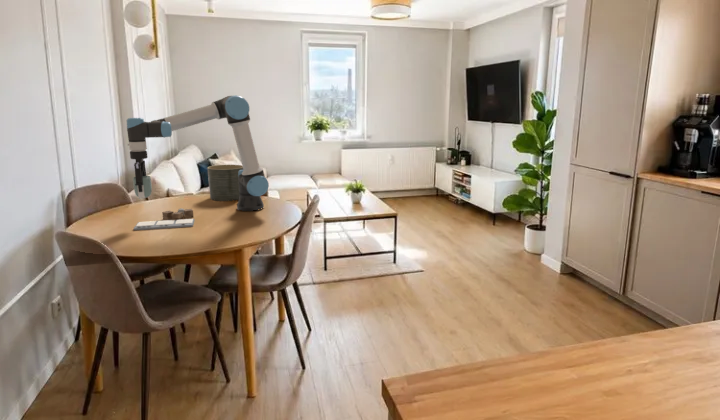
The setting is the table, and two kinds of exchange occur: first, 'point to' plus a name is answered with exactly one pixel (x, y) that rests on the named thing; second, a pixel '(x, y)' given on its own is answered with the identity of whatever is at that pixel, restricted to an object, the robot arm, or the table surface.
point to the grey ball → (181, 210)
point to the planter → (224, 182)
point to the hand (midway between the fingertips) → (143, 196)
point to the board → (164, 224)
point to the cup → (146, 186)
